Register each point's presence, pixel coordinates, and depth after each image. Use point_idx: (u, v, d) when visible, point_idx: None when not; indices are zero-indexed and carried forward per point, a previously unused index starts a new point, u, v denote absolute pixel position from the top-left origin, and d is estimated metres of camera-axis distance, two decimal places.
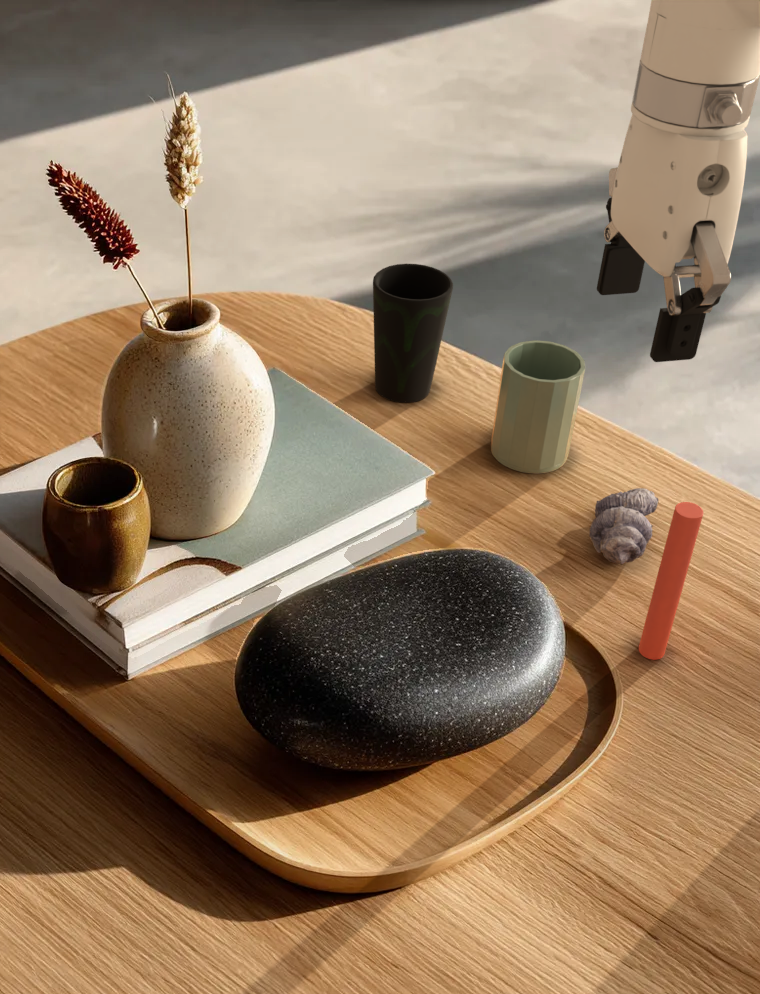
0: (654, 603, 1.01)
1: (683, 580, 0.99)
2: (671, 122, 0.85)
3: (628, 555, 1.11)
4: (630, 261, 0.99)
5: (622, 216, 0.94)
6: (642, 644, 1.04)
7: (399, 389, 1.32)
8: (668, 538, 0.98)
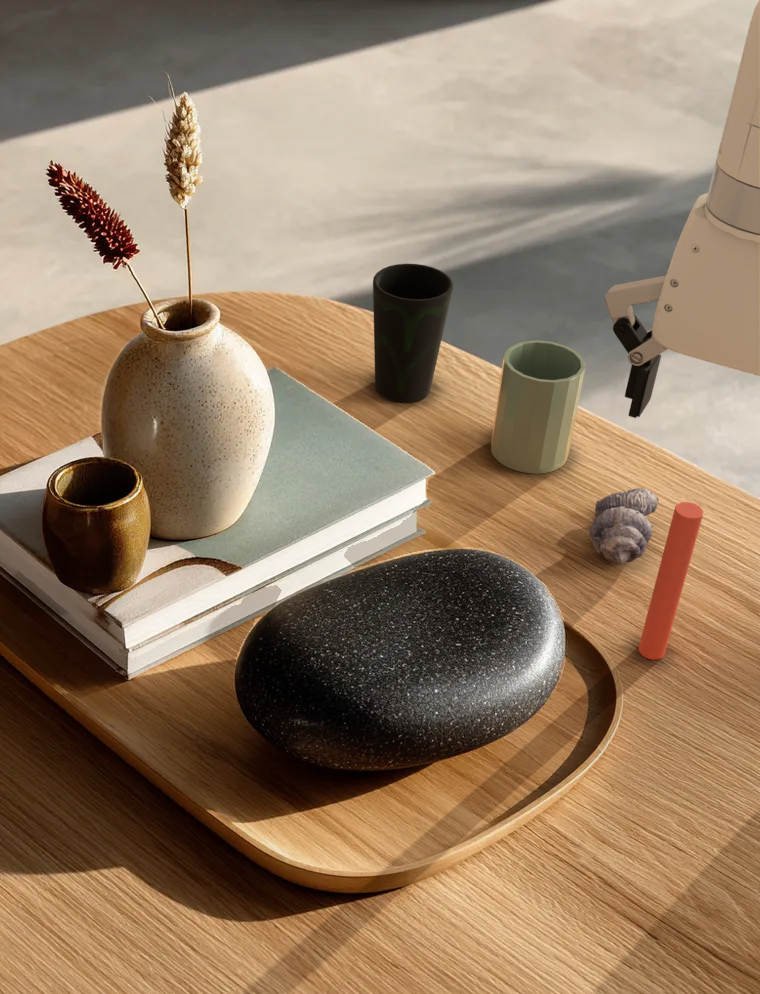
0: (654, 603, 1.01)
1: (683, 580, 0.99)
2: None
3: (628, 555, 1.11)
4: (653, 374, 0.92)
5: (692, 338, 0.87)
6: (642, 644, 1.04)
7: (399, 389, 1.32)
8: (668, 538, 0.98)
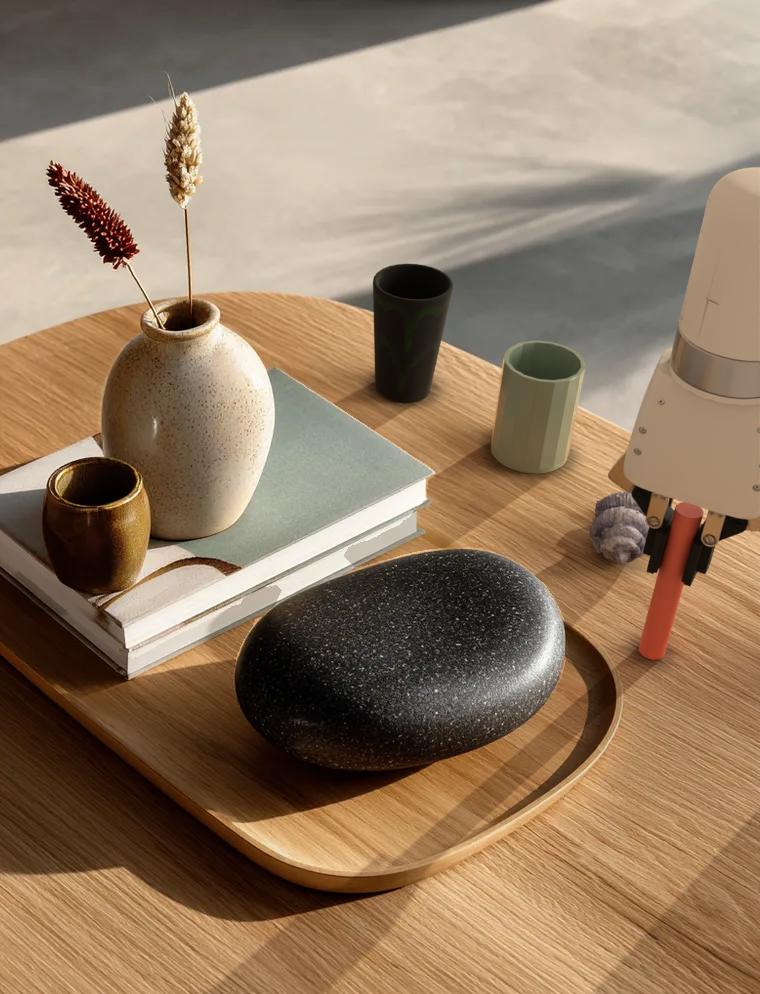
0: (654, 603, 1.01)
1: None
2: (759, 396, 0.86)
3: (628, 555, 1.11)
4: None
5: (660, 478, 0.94)
6: (642, 644, 1.04)
7: (399, 389, 1.32)
8: (668, 538, 0.98)
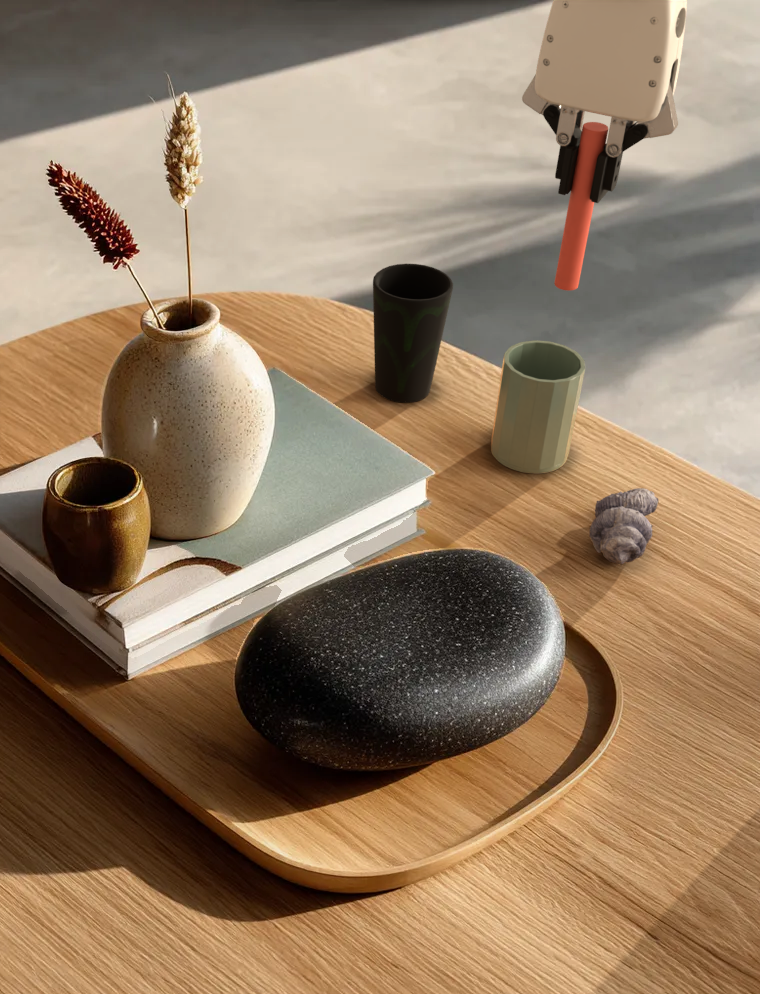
0: (566, 229, 1.10)
1: (592, 202, 1.08)
2: None
3: (628, 555, 1.11)
4: None
5: (567, 87, 1.02)
6: (557, 276, 1.13)
7: (399, 389, 1.32)
8: (577, 158, 1.06)
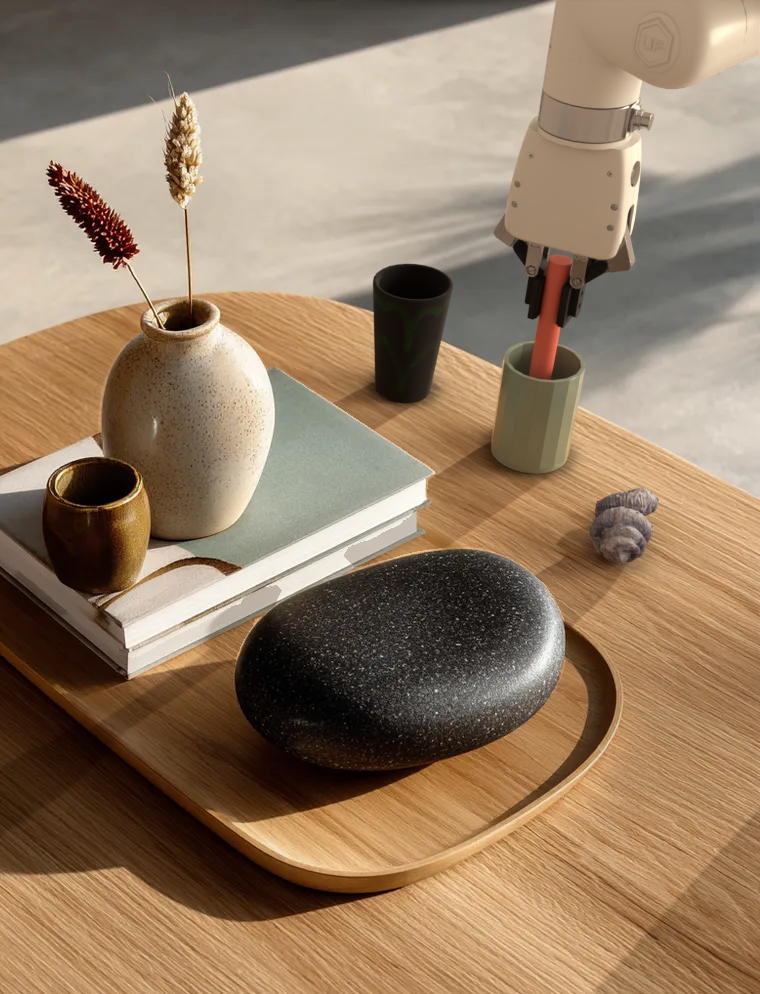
0: (535, 349, 1.19)
1: None
2: (606, 141, 1.04)
3: (628, 555, 1.11)
4: None
5: (533, 227, 1.12)
6: None
7: (399, 389, 1.32)
8: (544, 287, 1.16)
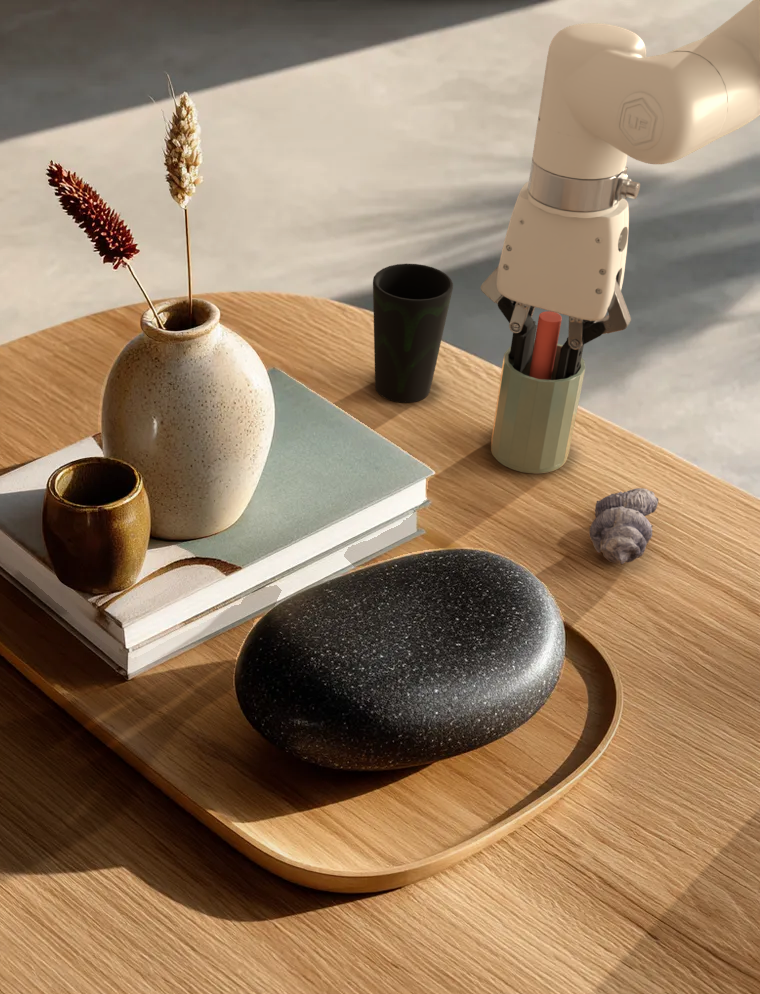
0: None
1: (549, 379, 1.21)
2: (594, 210, 1.08)
3: (628, 555, 1.11)
4: (531, 339, 1.20)
5: (525, 289, 1.15)
6: None
7: (399, 389, 1.32)
8: (535, 342, 1.19)
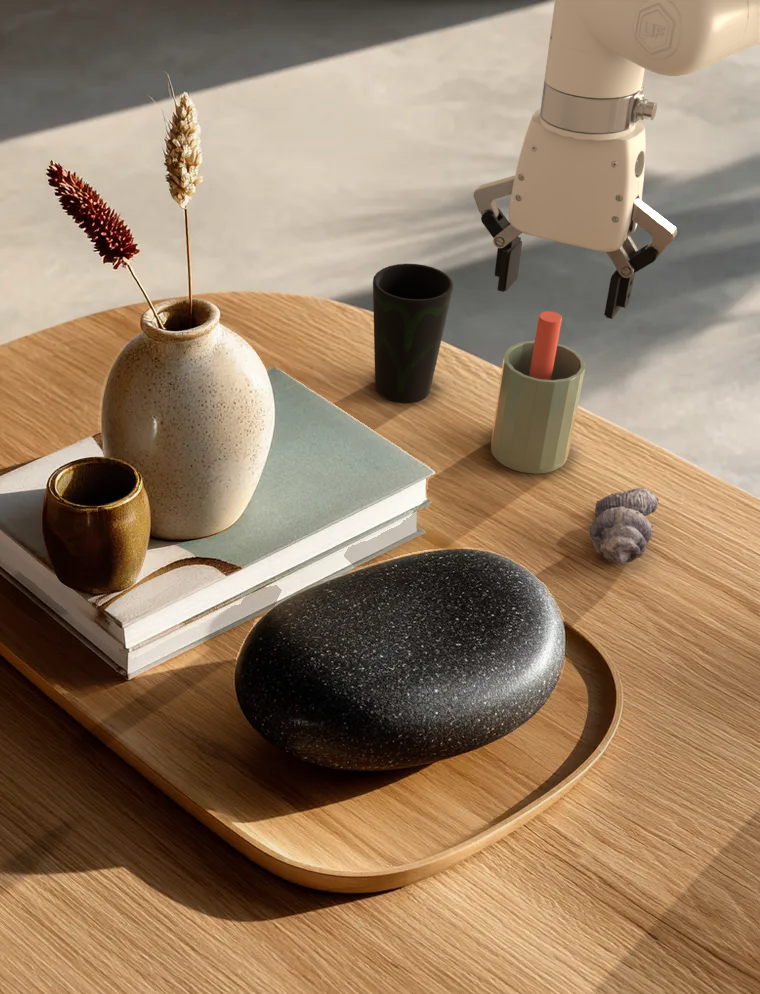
0: None
1: (549, 379, 1.21)
2: (610, 132, 1.04)
3: (628, 555, 1.11)
4: (516, 256, 1.16)
5: (538, 221, 1.11)
6: None
7: (399, 389, 1.32)
8: (535, 342, 1.19)
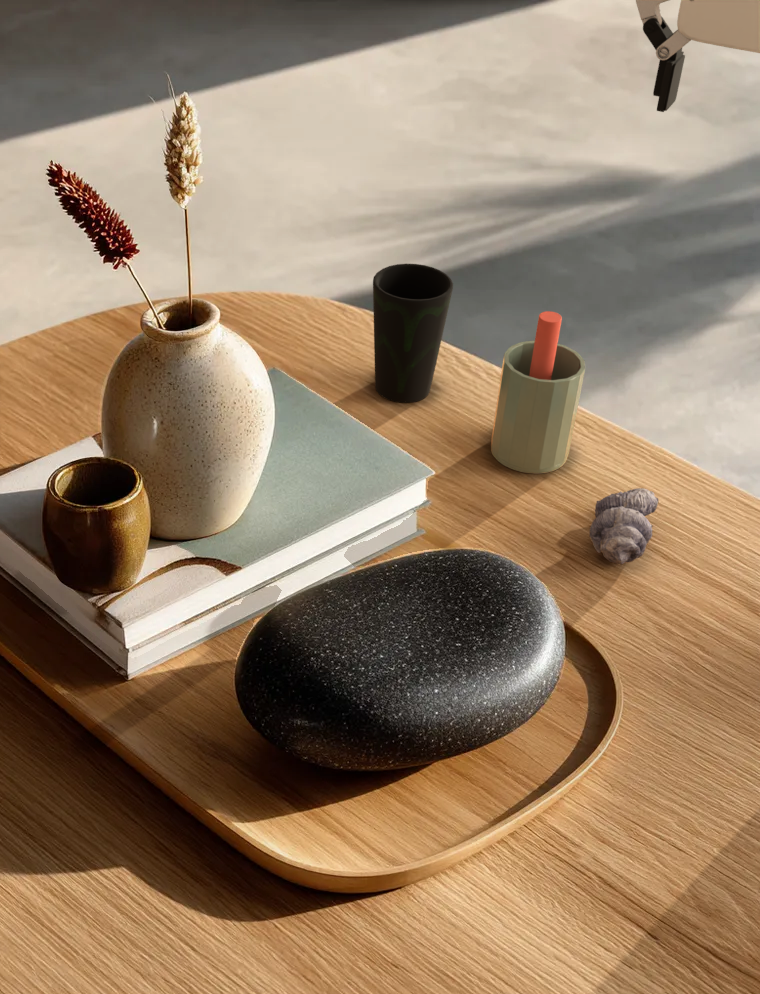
0: None
1: (549, 379, 1.21)
2: None
3: (628, 555, 1.11)
4: (678, 71, 1.05)
5: (713, 23, 1.00)
6: None
7: (399, 389, 1.32)
8: (535, 342, 1.19)
